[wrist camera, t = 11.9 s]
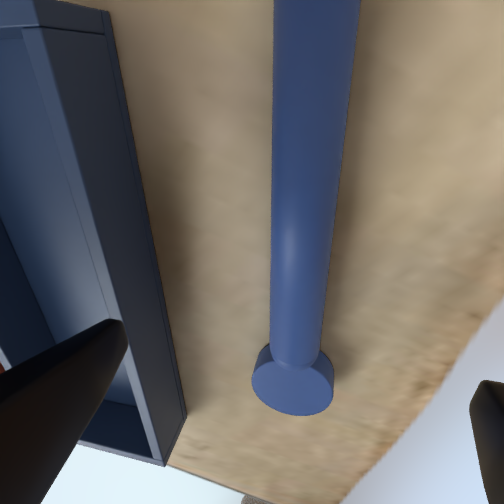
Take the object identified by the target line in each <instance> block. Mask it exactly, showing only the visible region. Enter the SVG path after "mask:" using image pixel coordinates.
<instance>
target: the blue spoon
mask: <svg viewBox="0 0 504 504" xmlns="http://www.w3.org/2000/svg"><path fill="white" fill-rule="evenodd" d="M360 2H361V0H274V21H273V105H272V188H271V272H270V344H269V345H267V346H266V347H265V348H263V349H262V350H261V352H260V353H259V355H258V358H257V361H256V365H255V368H254V372H253V375H252V387H253V390H254V392H255V393H256V395H257V396H258V397H259V399H260V400H261V401H262V402H264V403H265V404H266V405H268V406H269V407H271V408H273V409H275V410H277V411H279V412H282V413H285V414H289V415H296V416H308V415H314V414H317V413H319V412H322V411H323V410H325V409H326V408H327V407H328V406H329V405H330V403H331V401H332V399H333V388H334V370H333V366H332V364H331V362H330V361H329V359H328V358H327V357H326V356H325V354H323V353H322V352H321V351H320V350H319V348H320V340H321V331H322V323H323V314H324V306H325V297H326V289H327V281H328V272H329V264H330V255H331V247H332V238H333V230H334V222H335V213H336V205H337V196H338V188H339V179H340V171H341V163H342V154H343V146H344V137H345V129H346V120H347V112H348V104H349V95H350V87H351V78H352V70H353V61H354V53H355V45H356V36H357V28H358V19H359V11H360Z"/></svg>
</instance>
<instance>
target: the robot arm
mask: <svg viewBox="0 0 504 504" xmlns="http://www.w3.org/2000/svg"><path fill="white" fill-rule="evenodd" d="M128 344H129V341H128V337H127V334H126V330H125V327H124V323H123V322H122V321H121V320H117V319H111V318H108V319H105V320H103V321H101V322H99V323H97V324H95V325H93V326H91V327H89V328H87V329H85V330H84V331H82V332H80V333H78V334H76V335H74V336H72V337H70V338H68V339H66V340H64V341H62V342H60V343H59V344H57V345H55V346H53V347H51V348H49V349H47V350H45V351H43V352H41V353H39V354H37V355H35V356H33V357H32V358H30V359H28V360H26V361H24V362H22V363H20V364H18V365H16V366H14V367H12V368H10V369H8V370H6V371H5V372H3V373H1V374H0V504H41V502H42V500H43V499H44V497H45V495H46V494H47V492H48V490H49V489H50V487H51V485H52V484H53V482H54V480H55V479H56V477H57V475H58V474H59V472H60V470H61V469H62V467H63V465H64V464H65V462H66V461H67V459H68V457H69V456H70V454H71V452H72V451H73V449H74V447H75V446H76V444H77V442H78V441H79V439H80V437H81V436H82V434H83V432H84V431H85V429H86V427H87V426H88V424H89V422H90V421H91V419H92V418H93V416H94V414H95V413H96V411H97V409H98V408H99V406H100V404H101V402H102V401H103V399H104V397H105V395H106V393H107V391H108V389H109V387H110V385H111V383H112V381H113V378H114V376H115V374H116V372H117V370H118V368H119V366H120V364H121V362H122V360H123V358H124V356H125V353H126V351H127V349H128ZM469 412H470V418H471V423H472V428H473V433H474V438H475V444H476V449H477V454H478V459H479V465H480V470H481V475H482V479H483V484H484V488H485V492H486V495H487V498H488V502H489V504H504V383H501V382H494V381H489V380H483V381H481V382H480V384H479V386H478V388H477V390H476V392H475V394H474V396H473V398H472V400H471V402H470V408H469Z"/></svg>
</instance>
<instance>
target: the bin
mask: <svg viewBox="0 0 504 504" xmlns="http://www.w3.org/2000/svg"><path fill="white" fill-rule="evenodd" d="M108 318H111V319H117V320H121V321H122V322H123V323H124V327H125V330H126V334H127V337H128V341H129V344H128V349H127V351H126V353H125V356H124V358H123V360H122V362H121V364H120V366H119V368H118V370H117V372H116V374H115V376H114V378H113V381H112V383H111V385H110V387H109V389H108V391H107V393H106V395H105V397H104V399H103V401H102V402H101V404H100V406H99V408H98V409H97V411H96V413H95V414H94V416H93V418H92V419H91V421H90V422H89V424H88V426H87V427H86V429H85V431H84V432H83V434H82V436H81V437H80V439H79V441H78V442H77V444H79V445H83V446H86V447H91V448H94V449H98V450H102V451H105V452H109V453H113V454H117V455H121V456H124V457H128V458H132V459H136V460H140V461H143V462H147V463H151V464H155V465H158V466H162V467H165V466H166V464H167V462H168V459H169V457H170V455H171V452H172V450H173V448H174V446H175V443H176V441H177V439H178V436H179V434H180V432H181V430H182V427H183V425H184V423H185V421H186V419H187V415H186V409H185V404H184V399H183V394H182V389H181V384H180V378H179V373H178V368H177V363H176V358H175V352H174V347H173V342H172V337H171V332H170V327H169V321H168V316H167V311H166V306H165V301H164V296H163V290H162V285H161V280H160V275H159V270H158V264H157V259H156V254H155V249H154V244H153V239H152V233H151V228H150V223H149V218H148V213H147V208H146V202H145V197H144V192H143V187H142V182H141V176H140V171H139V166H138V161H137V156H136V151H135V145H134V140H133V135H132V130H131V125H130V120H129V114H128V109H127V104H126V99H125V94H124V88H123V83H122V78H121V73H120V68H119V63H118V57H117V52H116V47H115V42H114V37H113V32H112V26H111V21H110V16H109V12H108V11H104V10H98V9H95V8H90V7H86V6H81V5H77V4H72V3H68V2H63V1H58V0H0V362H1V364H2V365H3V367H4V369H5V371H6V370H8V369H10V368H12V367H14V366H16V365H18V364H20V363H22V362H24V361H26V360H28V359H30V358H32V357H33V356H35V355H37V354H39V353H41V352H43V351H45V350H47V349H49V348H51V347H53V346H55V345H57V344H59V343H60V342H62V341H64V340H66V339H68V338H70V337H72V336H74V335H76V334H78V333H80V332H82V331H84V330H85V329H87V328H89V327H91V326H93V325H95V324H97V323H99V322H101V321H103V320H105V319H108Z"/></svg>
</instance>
